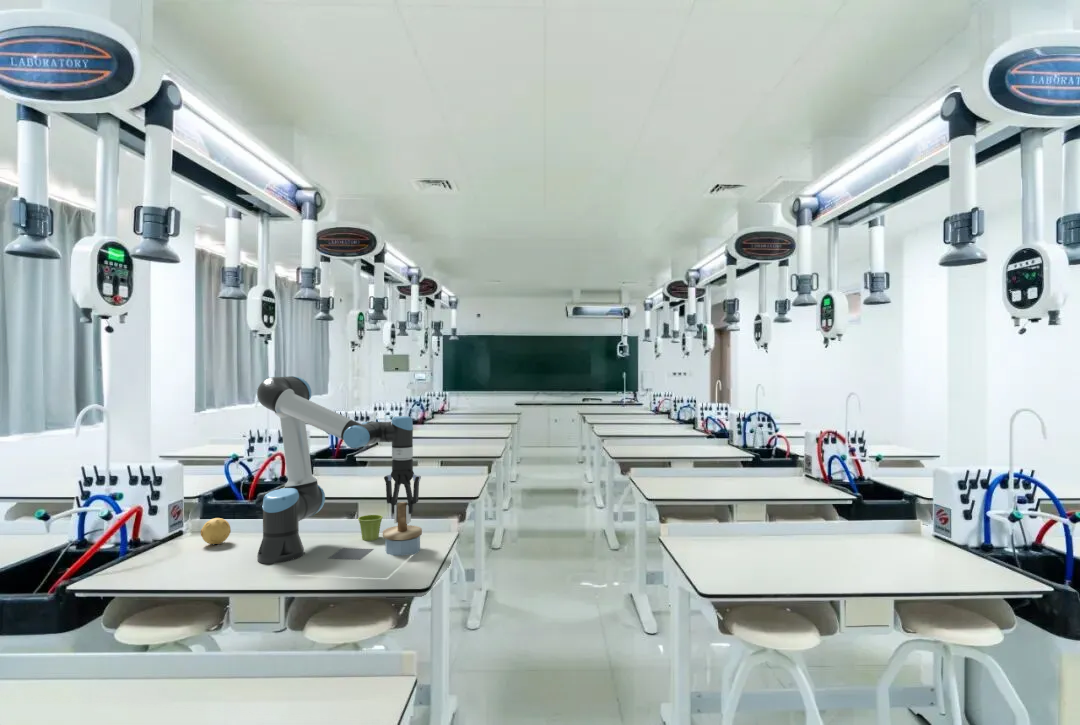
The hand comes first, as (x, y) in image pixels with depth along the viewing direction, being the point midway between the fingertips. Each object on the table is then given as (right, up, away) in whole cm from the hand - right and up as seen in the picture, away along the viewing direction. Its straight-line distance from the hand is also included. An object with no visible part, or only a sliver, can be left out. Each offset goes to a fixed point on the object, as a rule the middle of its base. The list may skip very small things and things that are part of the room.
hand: (402, 522), depth 212 cm
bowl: (0, -11, 0) cm, 11 cm away
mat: (-18, -11, -4) cm, 21 cm away
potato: (-74, -12, +10) cm, 76 cm away
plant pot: (-16, -11, +15) cm, 25 cm away
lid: (0, -5, 0) cm, 5 cm away
